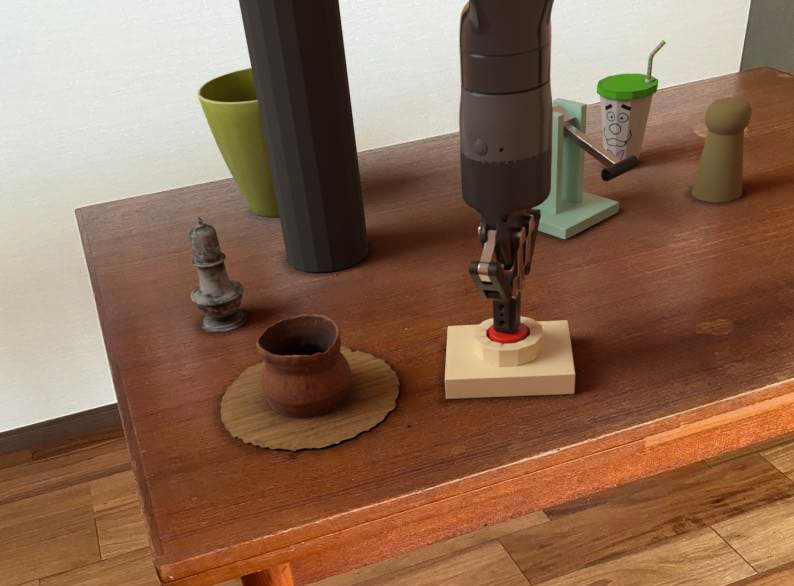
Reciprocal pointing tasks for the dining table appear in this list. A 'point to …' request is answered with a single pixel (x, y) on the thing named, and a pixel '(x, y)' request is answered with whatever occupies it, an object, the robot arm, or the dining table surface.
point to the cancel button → (508, 335)
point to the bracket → (570, 182)
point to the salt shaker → (214, 283)
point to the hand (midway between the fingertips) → (507, 329)
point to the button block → (509, 361)
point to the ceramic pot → (307, 388)
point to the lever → (596, 149)
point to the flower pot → (241, 136)
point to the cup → (626, 109)
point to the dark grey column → (308, 129)
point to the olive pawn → (723, 151)
